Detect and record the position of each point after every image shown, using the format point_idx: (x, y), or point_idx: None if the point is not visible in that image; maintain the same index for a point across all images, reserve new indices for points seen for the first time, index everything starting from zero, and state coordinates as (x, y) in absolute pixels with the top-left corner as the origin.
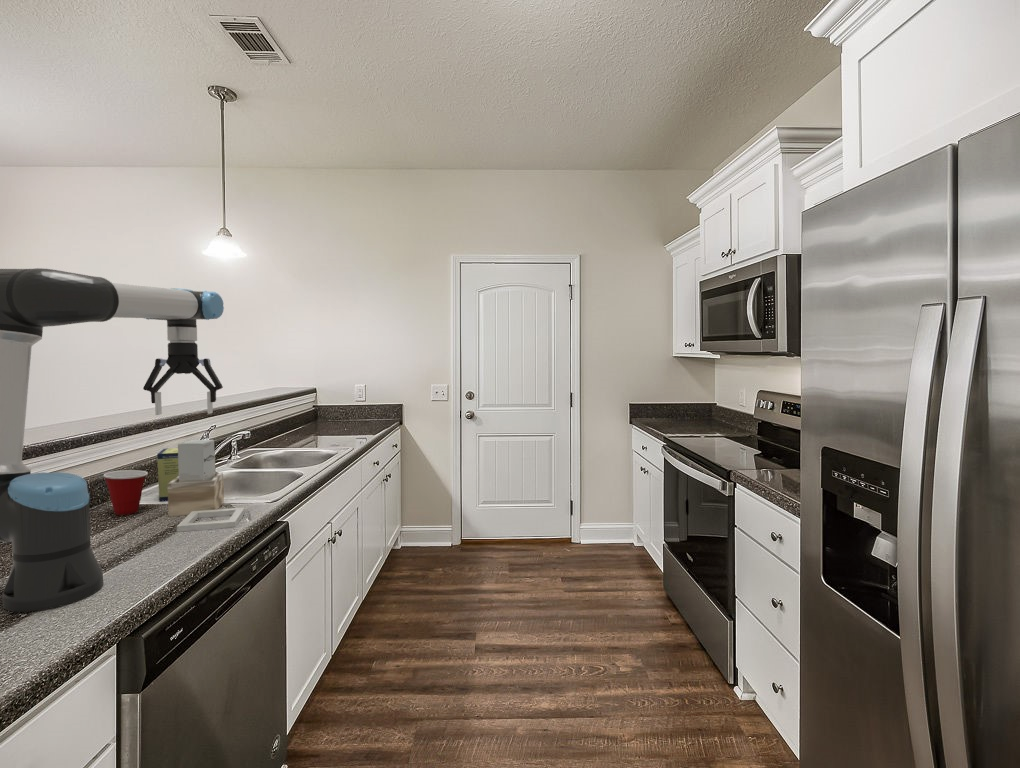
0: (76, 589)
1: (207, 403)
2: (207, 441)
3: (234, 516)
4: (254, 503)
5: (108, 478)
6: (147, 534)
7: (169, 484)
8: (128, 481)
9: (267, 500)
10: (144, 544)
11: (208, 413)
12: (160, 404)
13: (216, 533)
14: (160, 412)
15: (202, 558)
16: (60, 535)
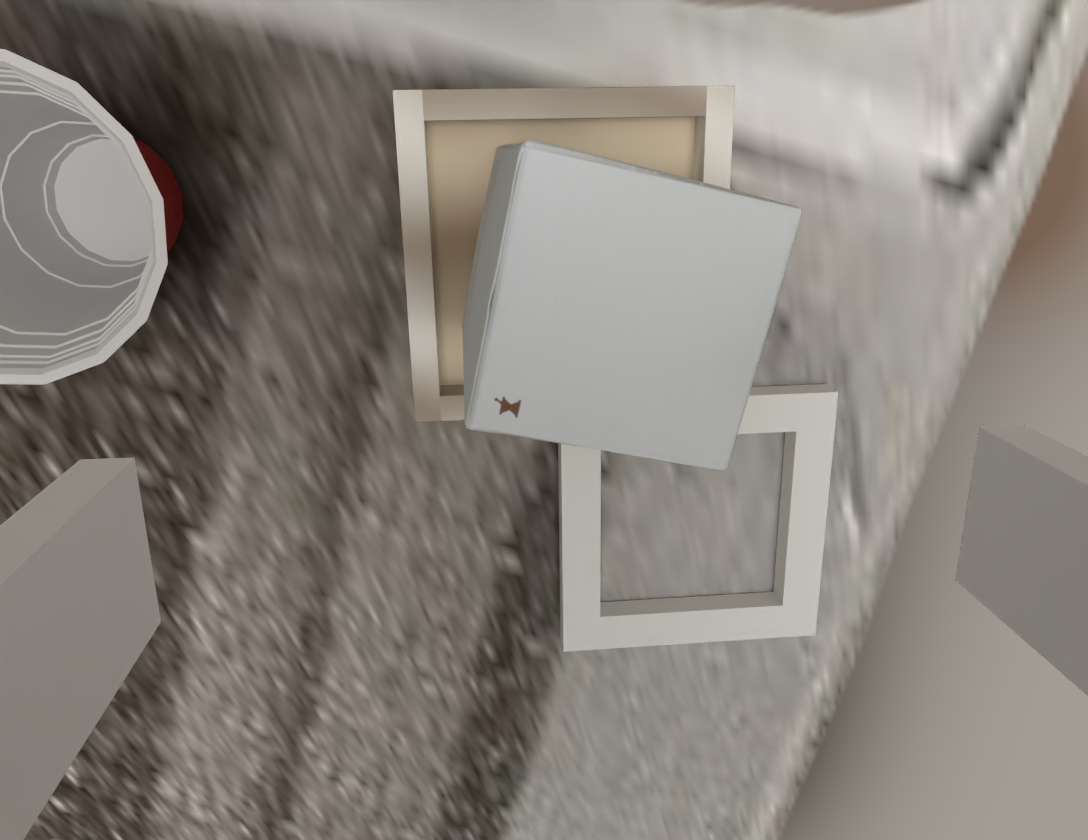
0: None
1: (1084, 691)
2: (752, 337)
3: (803, 552)
4: (864, 188)
5: None
6: (437, 643)
7: (428, 418)
8: (96, 341)
9: (938, 131)
10: (479, 763)
11: (972, 583)
12: (52, 600)
13: (737, 686)
14: (129, 531)
15: None
16: None
